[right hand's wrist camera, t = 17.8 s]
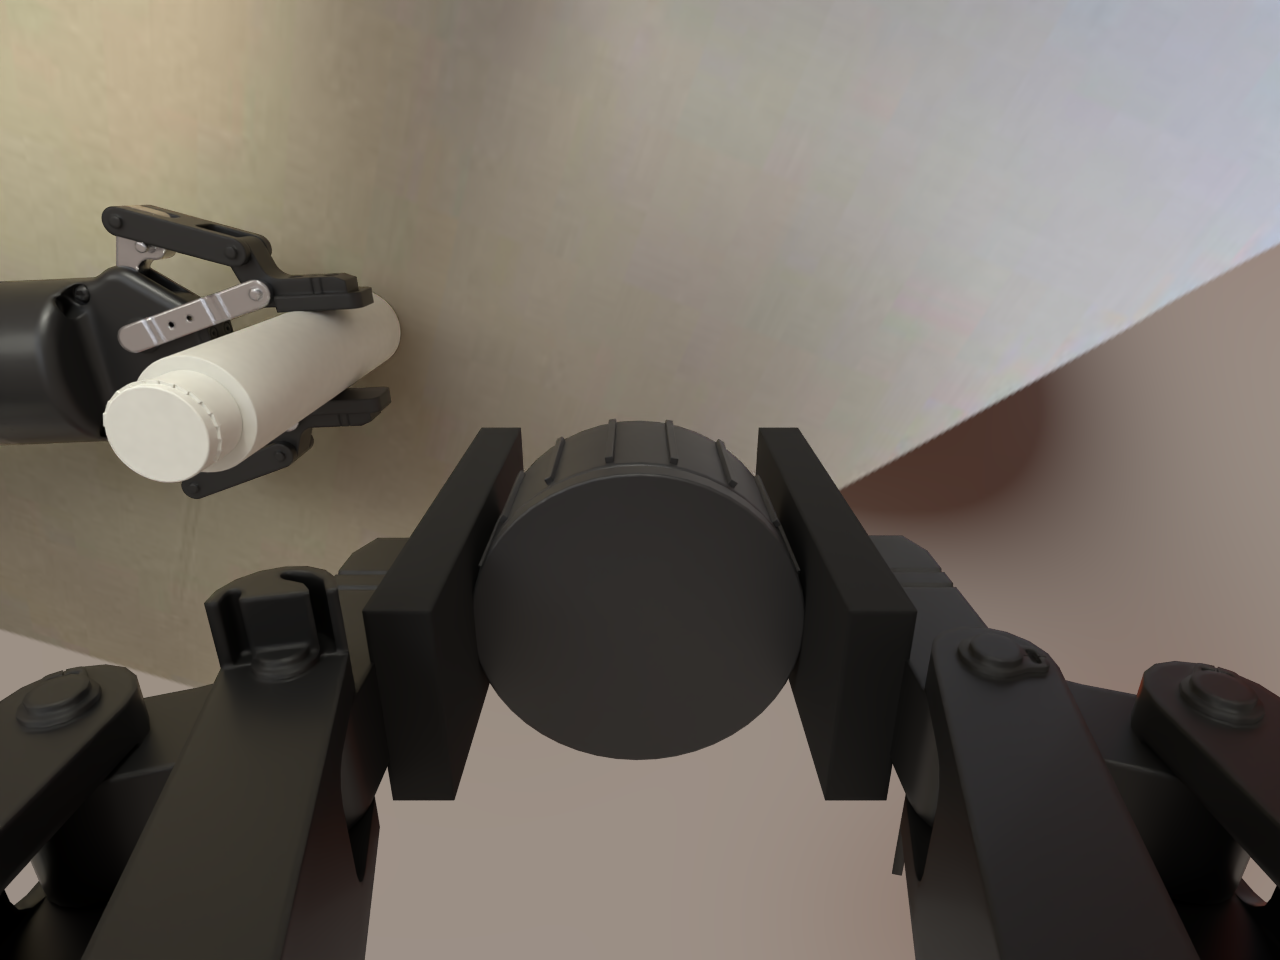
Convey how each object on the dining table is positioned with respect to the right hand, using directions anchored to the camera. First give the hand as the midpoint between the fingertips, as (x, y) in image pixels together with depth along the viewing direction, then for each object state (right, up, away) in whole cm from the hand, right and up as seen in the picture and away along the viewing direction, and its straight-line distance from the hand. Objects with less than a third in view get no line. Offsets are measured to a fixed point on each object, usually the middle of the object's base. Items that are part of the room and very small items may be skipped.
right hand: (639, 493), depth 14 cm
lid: (0, -2, -4) cm, 4 cm away
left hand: (-12, +6, +20) cm, 24 cm away
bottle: (-15, +9, +25) cm, 31 cm away
